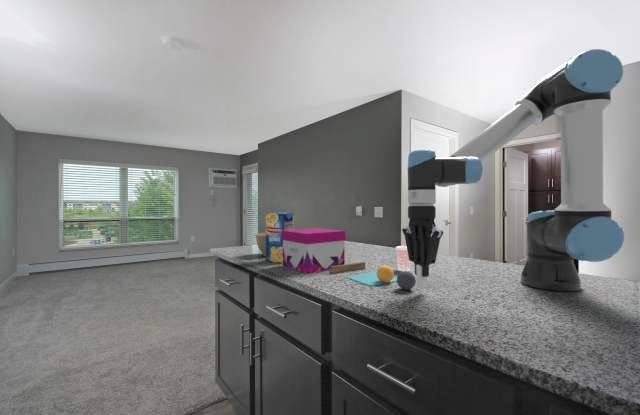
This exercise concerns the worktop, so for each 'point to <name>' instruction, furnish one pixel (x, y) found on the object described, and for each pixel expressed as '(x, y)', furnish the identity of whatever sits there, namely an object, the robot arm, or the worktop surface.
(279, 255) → the beverage box
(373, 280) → the teal mark
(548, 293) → the worktop surface
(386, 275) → the orange ball
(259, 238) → the planter bowl
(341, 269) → the wall
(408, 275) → the gray ball
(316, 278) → the worktop surface
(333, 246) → the decorative box
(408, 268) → the beverage cup
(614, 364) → the worktop surface
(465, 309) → the worktop surface
